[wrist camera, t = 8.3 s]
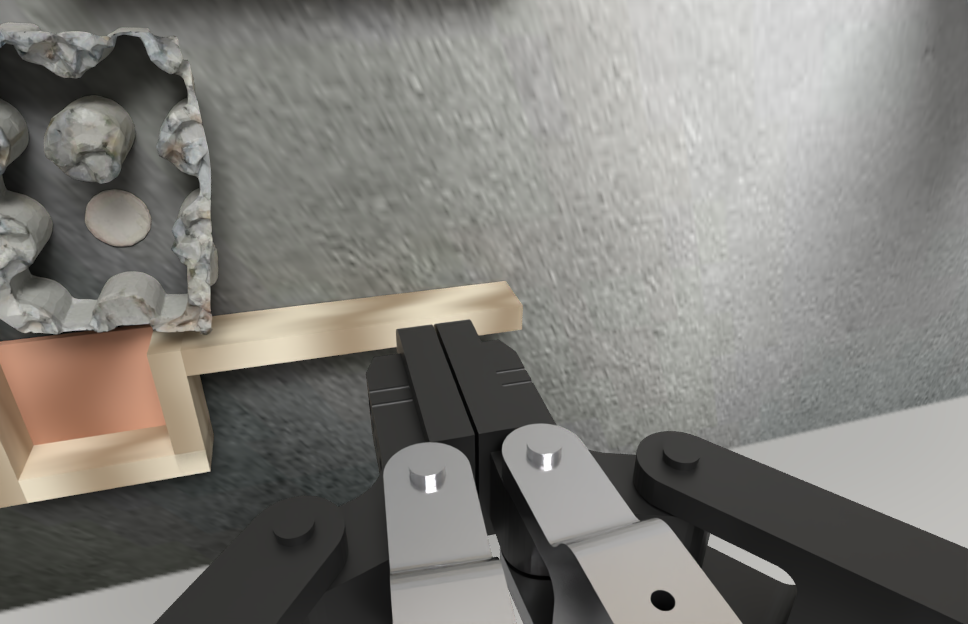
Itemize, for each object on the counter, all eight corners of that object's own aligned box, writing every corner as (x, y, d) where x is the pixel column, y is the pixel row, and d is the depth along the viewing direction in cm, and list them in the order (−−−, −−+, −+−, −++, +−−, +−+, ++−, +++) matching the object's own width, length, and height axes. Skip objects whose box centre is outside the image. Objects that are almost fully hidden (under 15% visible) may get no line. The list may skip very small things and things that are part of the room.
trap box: (523, -281, 22) (557, -309, 19) (502, 388, 35) (520, 424, 32) (-354, -366, 16) (-467, -421, 14) (13, 467, 29) (-11, 517, 27)
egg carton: (224, 298, 28) (219, 349, 25) (18, 301, 26) (-19, 358, 23) (207, 27, 23) (198, 44, 20) (-49, 3, 21) (-109, 17, 18)
